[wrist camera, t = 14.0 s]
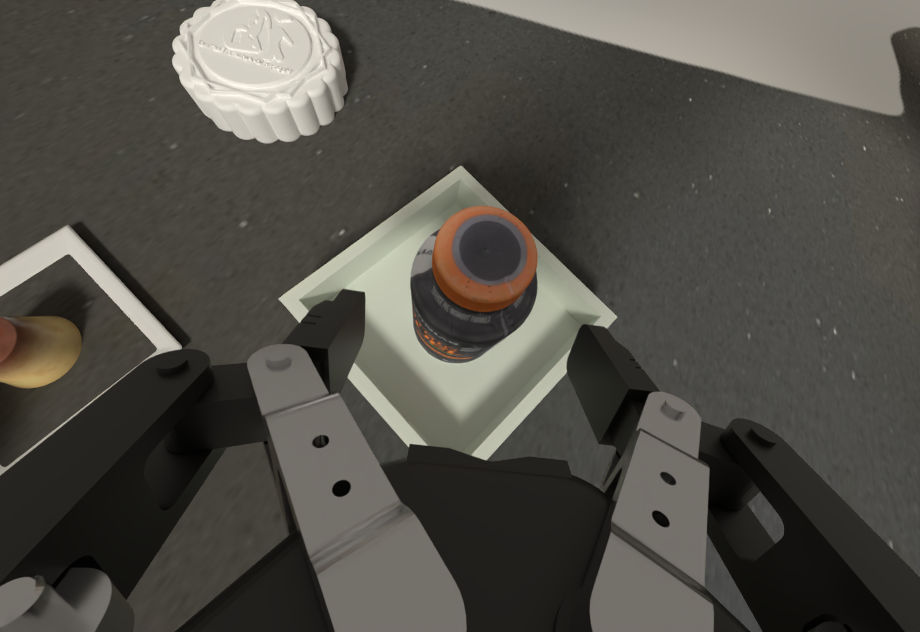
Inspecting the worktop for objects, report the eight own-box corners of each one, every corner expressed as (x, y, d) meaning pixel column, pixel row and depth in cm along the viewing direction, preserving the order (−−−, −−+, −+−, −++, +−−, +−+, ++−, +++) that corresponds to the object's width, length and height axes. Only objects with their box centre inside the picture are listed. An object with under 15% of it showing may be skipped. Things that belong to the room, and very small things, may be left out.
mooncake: (368, 59, 29) (361, 14, 26) (316, 164, 26) (300, 128, 23) (238, 17, 29) (213, -35, 26) (168, 118, 26) (129, 73, 22)
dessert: (83, 232, 23) (-1, 189, 18) (194, 350, 22) (134, 335, 17) (-112, 354, 20) (-274, 339, 15) (6, 500, 19) (-131, 532, 14)
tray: (455, 195, 27) (460, 165, 23) (590, 329, 25) (617, 317, 21) (299, 314, 23) (278, 298, 19) (447, 482, 21) (452, 497, 18)
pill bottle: (395, 328, 22) (370, 256, 11) (448, 267, 24) (470, 152, 13) (464, 382, 22) (507, 361, 11) (513, 316, 23) (592, 240, 13)
